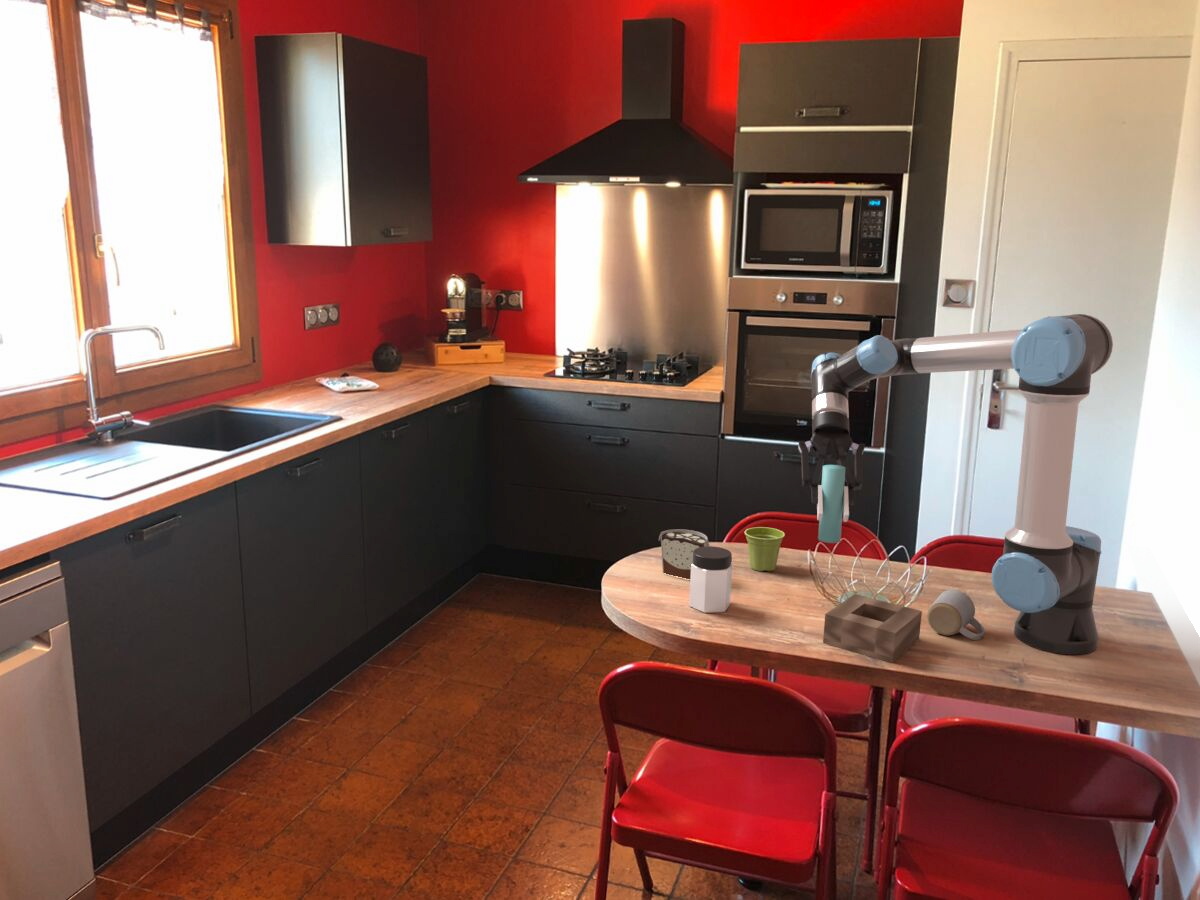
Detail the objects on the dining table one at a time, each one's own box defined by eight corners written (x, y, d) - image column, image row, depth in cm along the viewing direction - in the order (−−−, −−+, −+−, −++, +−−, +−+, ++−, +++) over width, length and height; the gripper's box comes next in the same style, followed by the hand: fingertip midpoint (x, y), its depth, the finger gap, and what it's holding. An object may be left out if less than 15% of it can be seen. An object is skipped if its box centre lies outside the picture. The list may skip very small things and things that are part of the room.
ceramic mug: (923, 632, 199) (927, 596, 198) (935, 619, 206) (940, 584, 204) (976, 646, 193) (982, 610, 192) (988, 633, 200) (993, 597, 198)
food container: (716, 576, 228) (719, 535, 226) (705, 584, 223) (707, 541, 221) (669, 565, 234) (671, 525, 232) (657, 573, 229) (658, 531, 227)
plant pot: (734, 567, 234) (736, 532, 232) (755, 558, 241) (757, 524, 239) (769, 577, 228) (771, 541, 226) (789, 567, 235) (792, 532, 233)
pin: (844, 539, 200) (849, 467, 196) (834, 544, 196) (839, 470, 193) (823, 535, 202) (828, 463, 199) (814, 540, 199) (818, 467, 195)
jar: (738, 607, 210) (741, 554, 207) (711, 616, 204) (714, 561, 202) (708, 595, 216) (710, 543, 214) (681, 603, 211) (683, 550, 209)
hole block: (919, 639, 196) (921, 611, 194) (892, 662, 185) (895, 633, 183) (852, 621, 204) (854, 593, 202) (822, 642, 193) (825, 614, 192)
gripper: (870, 431, 209) (875, 528, 196) (786, 428, 211) (786, 524, 198) (875, 411, 202) (881, 510, 190) (789, 407, 205) (789, 506, 192)
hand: (833, 517), depth 194 cm, fingers closed on pin, 4 cm apart
